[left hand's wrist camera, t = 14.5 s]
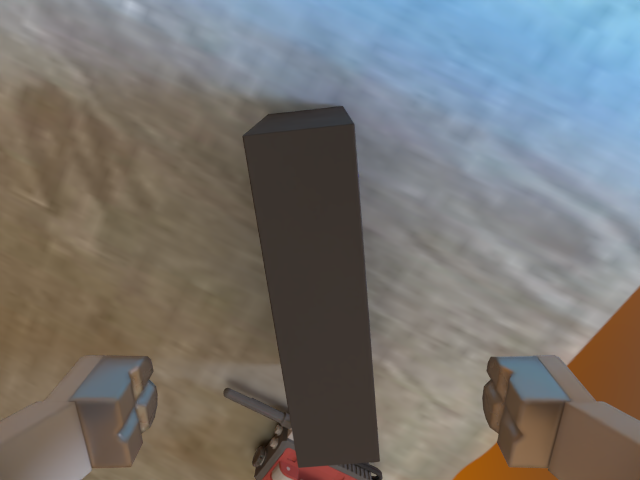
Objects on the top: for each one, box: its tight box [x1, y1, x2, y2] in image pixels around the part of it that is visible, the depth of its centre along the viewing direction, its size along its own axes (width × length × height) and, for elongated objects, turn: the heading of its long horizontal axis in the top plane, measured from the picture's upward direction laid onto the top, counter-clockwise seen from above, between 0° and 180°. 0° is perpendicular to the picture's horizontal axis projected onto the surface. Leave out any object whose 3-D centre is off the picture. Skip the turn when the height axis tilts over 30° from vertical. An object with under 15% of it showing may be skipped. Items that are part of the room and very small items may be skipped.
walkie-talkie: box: [224, 388, 382, 480], centre depth 45 cm, size 9×4×20 cm
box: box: [243, 106, 380, 468], centre depth 34 cm, size 24×6×12 cm, turn 6°
